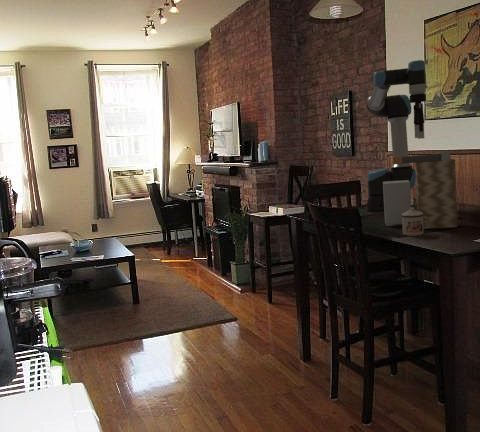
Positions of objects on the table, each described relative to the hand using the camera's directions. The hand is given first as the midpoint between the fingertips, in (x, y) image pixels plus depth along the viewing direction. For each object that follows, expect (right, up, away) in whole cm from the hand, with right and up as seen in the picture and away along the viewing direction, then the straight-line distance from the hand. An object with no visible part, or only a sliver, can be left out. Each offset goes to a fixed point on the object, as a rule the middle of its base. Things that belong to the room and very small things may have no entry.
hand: (419, 138), depth 254 cm
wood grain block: (+3, -43, -14) cm, 45 cm away
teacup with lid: (-11, -46, -27) cm, 55 cm away
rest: (-10, -42, +1) cm, 43 cm away
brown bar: (-6, -13, -17) cm, 23 cm away
